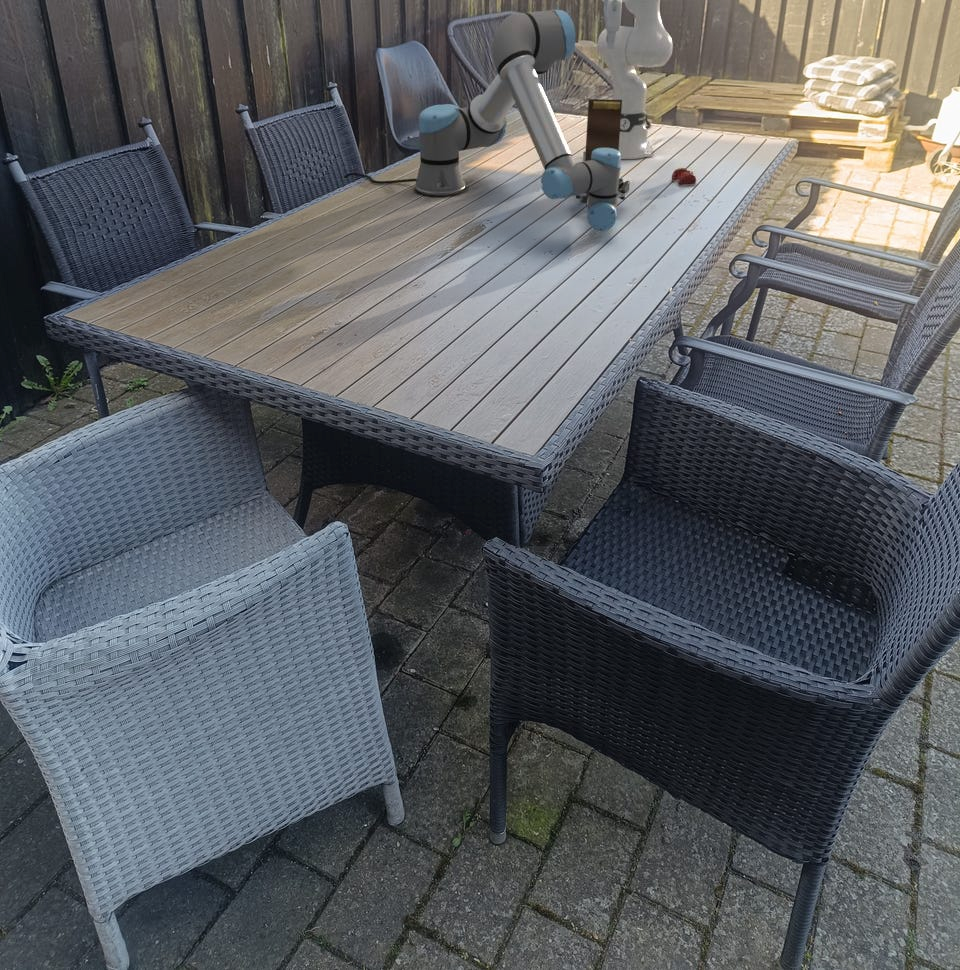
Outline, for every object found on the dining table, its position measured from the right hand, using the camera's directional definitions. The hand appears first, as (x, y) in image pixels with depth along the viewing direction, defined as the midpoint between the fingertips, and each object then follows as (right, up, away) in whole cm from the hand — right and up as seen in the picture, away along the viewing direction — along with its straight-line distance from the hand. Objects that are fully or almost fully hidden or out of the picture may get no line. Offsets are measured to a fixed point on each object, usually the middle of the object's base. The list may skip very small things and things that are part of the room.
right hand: (609, 45), depth 228 cm
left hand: (0, -29, +19) cm, 35 cm away
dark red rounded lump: (+29, -24, +36) cm, 52 cm away
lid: (0, -18, +12) cm, 22 cm away
